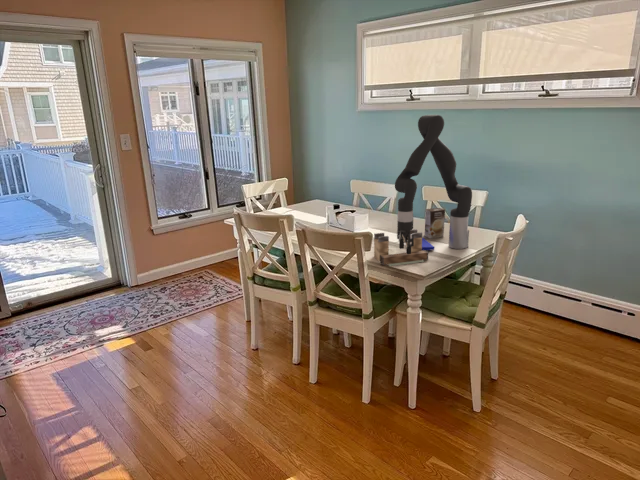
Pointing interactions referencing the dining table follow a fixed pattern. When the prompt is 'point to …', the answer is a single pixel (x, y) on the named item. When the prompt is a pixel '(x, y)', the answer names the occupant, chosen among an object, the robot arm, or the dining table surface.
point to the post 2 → (416, 241)
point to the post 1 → (381, 245)
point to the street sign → (426, 245)
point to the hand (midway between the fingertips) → (405, 251)
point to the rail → (403, 257)
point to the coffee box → (434, 223)
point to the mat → (405, 263)
